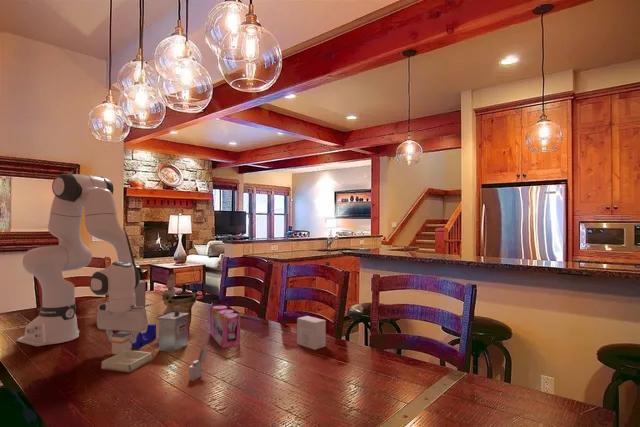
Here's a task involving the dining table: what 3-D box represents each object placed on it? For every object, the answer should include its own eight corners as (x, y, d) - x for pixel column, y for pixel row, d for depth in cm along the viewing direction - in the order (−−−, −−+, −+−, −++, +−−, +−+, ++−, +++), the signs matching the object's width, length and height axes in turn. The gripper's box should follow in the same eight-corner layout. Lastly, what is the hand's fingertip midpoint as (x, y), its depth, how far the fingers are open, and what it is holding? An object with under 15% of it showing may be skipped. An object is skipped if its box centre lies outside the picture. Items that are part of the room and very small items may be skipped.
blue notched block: (146, 338, 157) (146, 323, 157) (156, 338, 157) (156, 324, 157) (128, 347, 145) (128, 332, 146) (139, 348, 145) (139, 332, 145)
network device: (149, 320, 183) (149, 280, 183) (132, 325, 176) (132, 282, 176) (120, 313, 197) (120, 275, 197) (103, 317, 189) (104, 278, 190)
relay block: (111, 354, 138) (111, 334, 138) (121, 349, 143) (121, 331, 143) (121, 355, 137) (122, 335, 137) (131, 350, 142) (131, 332, 142)
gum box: (241, 346, 147) (242, 314, 147) (223, 349, 143) (223, 316, 143) (226, 331, 166) (226, 303, 166) (209, 334, 163) (209, 305, 163)
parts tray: (101, 368, 125) (101, 361, 125) (126, 356, 135) (126, 349, 136) (129, 372, 122) (129, 364, 122) (152, 359, 133) (153, 352, 133)
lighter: (193, 381, 115) (193, 355, 115) (189, 380, 116) (189, 354, 116) (207, 372, 122) (207, 347, 122) (202, 371, 123) (203, 347, 123)
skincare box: (326, 346, 147) (326, 319, 148) (315, 350, 143) (315, 322, 143) (307, 340, 155) (307, 314, 155) (296, 344, 150) (296, 317, 150)
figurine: (173, 309, 206) (173, 273, 206) (183, 311, 201) (183, 274, 202) (159, 313, 198) (159, 275, 198) (169, 315, 194) (169, 276, 194)
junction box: (157, 350, 142) (157, 309, 142) (171, 343, 150) (172, 304, 150) (175, 352, 140) (175, 311, 140) (188, 345, 148) (189, 305, 148)
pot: (169, 337, 157) (170, 294, 158) (155, 332, 164) (156, 291, 164) (204, 328, 171) (204, 288, 171) (190, 323, 178) (190, 286, 178)
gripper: (151, 304, 141) (151, 341, 141) (107, 301, 146) (107, 337, 146) (139, 308, 135) (139, 346, 134) (93, 305, 140) (93, 342, 140)
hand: (122, 341), depth 140 cm, fingers open, 8 cm apart
